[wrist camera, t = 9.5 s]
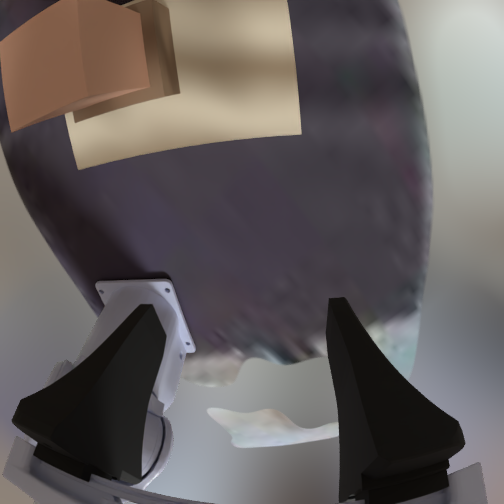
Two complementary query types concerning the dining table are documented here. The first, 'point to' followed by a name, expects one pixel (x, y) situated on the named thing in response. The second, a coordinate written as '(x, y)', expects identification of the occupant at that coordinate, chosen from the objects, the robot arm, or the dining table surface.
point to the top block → (71, 60)
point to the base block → (157, 60)
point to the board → (207, 85)
